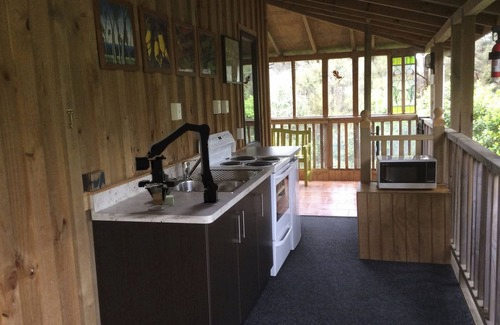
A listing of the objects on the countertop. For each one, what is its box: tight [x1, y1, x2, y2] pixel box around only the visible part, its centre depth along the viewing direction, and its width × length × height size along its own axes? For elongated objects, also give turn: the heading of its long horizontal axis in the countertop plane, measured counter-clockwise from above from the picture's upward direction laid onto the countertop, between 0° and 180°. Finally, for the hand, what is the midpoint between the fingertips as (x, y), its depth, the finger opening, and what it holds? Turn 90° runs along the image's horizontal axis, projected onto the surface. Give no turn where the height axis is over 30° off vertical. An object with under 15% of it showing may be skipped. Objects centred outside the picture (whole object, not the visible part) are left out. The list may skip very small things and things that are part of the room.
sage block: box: [162, 194, 175, 206], centre depth 228 cm, size 5×5×4 cm
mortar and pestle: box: [154, 176, 172, 196], centre depth 239 cm, size 11×9×12 cm
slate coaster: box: [148, 204, 171, 211], centre depth 220 cm, size 8×8×1 cm
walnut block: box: [152, 192, 166, 205], centre depth 219 cm, size 4×4×5 cm
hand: (159, 200), depth 219 cm, fingers closed on walnut block, 4 cm apart
